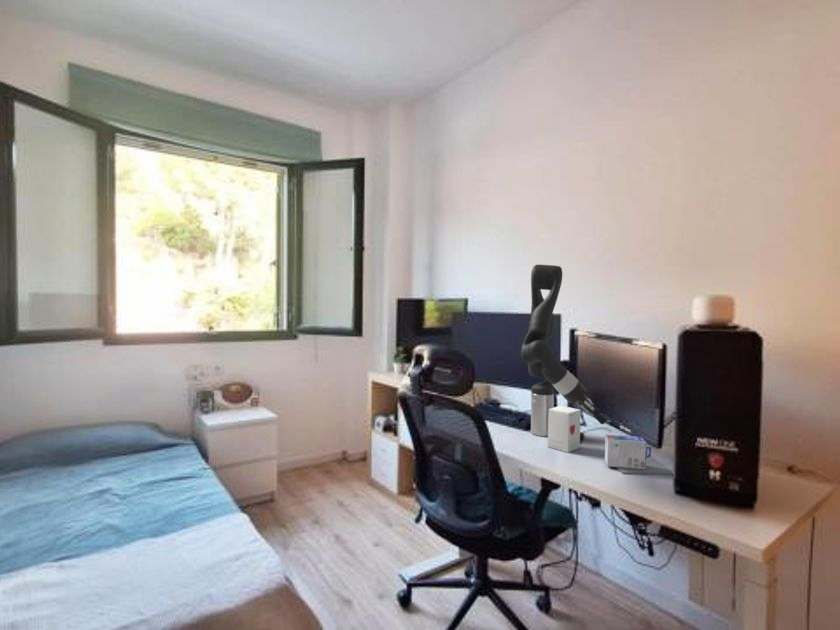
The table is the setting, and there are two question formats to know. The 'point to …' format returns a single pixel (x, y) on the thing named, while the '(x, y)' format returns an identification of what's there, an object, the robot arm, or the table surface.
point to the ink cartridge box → (626, 451)
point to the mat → (648, 468)
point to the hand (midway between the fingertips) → (603, 422)
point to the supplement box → (564, 428)
